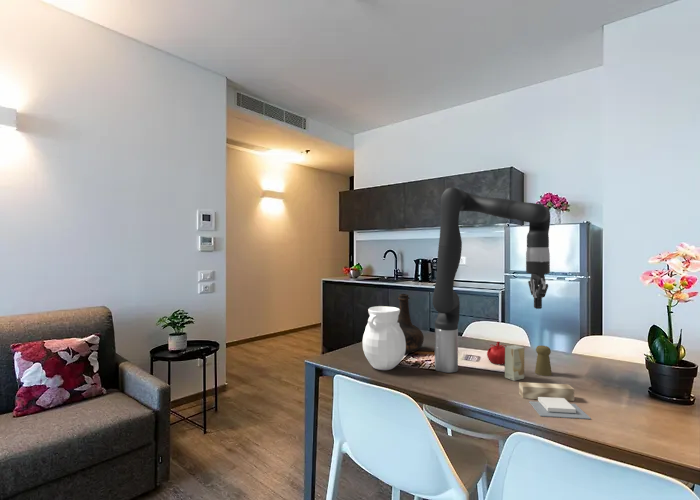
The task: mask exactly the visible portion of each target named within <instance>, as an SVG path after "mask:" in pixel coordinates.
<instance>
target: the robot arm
mask: <svg viewBox="0 0 700 500" xmlns="http://www.w3.org/2000/svg"><path fill="white" fill-rule="evenodd" d="M440 197H441V198H440V229H439V238H438V248H437V250H438V251H437V264H436V276H435V277H436V279H435V285H434V289H433V295H432V305H433V308H434V309H435V310H436V311H437V316H436V319H435V321H434V368H435V372H436V371H437V372H440V373H451V374H452V373H456V372H458V371H459V336H458V335H459V329H458V327H459V322H460V309H461V308H460V307H461V306H460V296H459V294H458V293H457V292H456V291H455V290H454V284H455V283H454V282H455V278H456V275H457V271H458V270H459V266H460V263H461V259H462V258H461V257H462V250H463V248H462V247H463V245H462V244H463V241H462V235H461V230H460V224H459V222H460V221H459V219H460V212H473V213H474V212H475V213H481V214H486V215H490V216H493V217H498V218H503V219H507V220H517V221H521V222H525V223H529V224H528V225H529V226H528V227H529V228H528V232H527V235H526V251H525V272H526V273H527V274H531V275H530V278H529V279H530V280H528V281H527V283H528V287H529V291H530V295H531V296H532V298H533V308H534V309H536V310H537V309H538V310H539V309H540V310H541V309H542V308H543V298H545V297H546V295H547V291H548V289H549V284H548V283H547V282H546V281H547V280H546V278H545V277H546V275H549V274H550V273H551V269H550V266H551V265H550V263H551V261H550V260H551V258H550V257H551V256H550V238H549V233H550V225H551V211H550V209H549V208H548V207H547V206H545V205H543V204H540V203H535V202H524V201H519V200H513V199H506V198H499V197H485V196H479V195H476V194H473V193H469V192H467V191H464V190H462V189H461V188H457V187H453V186H451V187H447V188H446V189H445V190H444V191H443V193H442V194H441V196H440Z"/></svg>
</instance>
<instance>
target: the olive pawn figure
mask: <svg viewBox="0 0 700 500" xmlns="http://www.w3.org/2000/svg"><path fill="white" fill-rule="evenodd" d="M535 351H536V353H537V354H536V355H537V356H536V361H535V369H534V373H535V374H536V375H539V376H543V377H551V376H552V375H553V372H552V366H551V359H550V355H551V353H552V352H551V351H552V350H551V348H550V347H549V346H547V345H537V346H536V348H535Z"/></svg>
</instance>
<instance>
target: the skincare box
mask: <svg viewBox="0 0 700 500" xmlns="http://www.w3.org/2000/svg"><path fill="white" fill-rule="evenodd" d="M504 347H505V364H504V378H505V379H509V380H511V381H513V382H514V381H520V380H523V379H525V347H524V346H520V345H518V344H514V345H506V346H504Z"/></svg>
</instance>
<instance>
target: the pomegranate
mask: <svg viewBox="0 0 700 500" xmlns="http://www.w3.org/2000/svg"><path fill="white" fill-rule="evenodd" d="M489 346H490V347H489V348H488V350H487V352H486V356H487V359H488V361H490V363H492V364H494V365H498V364H500V365H501V366H502V365H505V347H507V345H504V344H500V341H497V342H496V343H495V345H494V344H489Z"/></svg>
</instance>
